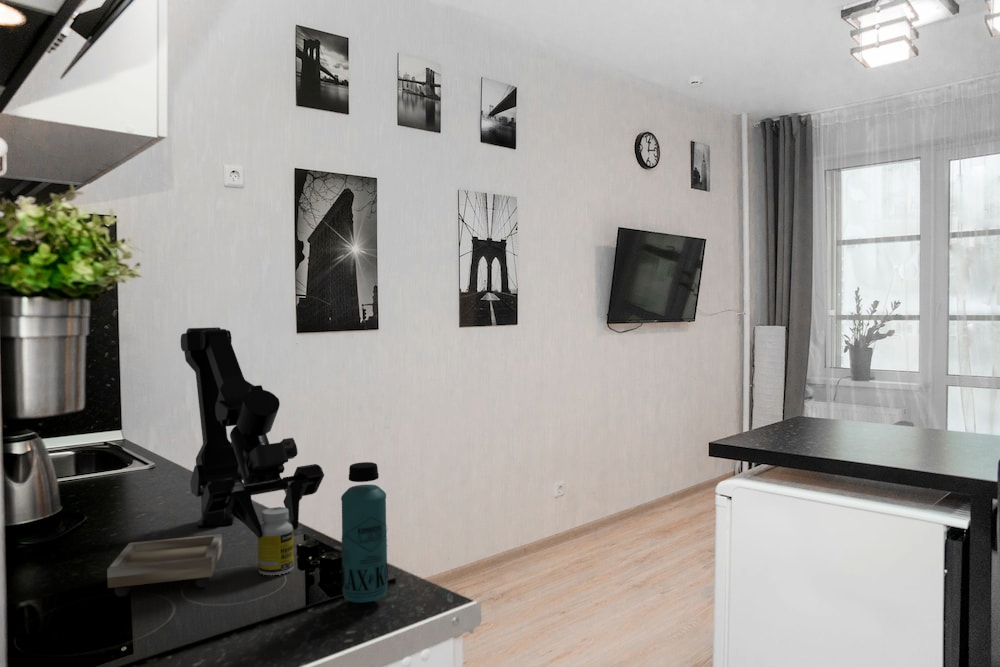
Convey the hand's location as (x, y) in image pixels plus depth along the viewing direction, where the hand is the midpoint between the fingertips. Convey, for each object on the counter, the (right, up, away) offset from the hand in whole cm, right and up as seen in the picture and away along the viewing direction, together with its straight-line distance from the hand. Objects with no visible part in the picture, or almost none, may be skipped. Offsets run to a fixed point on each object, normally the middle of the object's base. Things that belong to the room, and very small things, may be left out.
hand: (278, 532), depth 108 cm
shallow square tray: (-16, -7, -2) cm, 18 cm away
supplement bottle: (-1, -7, +1) cm, 7 cm away
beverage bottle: (+16, -7, -12) cm, 21 cm away
